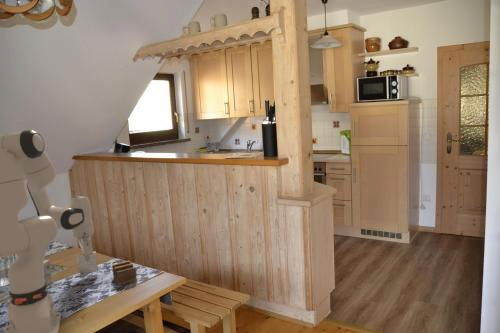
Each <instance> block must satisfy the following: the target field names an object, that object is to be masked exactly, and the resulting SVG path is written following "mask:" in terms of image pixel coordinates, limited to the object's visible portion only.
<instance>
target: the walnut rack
mask: <svg viewBox="0 0 500 333" xmlns="http://www.w3.org/2000/svg"><path fill="white" fill-rule="evenodd" d="M111 267H112V276H113V280H114V281H115V282H116V284H117V286H121V284H122V285H125V284H129V283H132V282H136V281H137V280H138V278H137V270H136V269H137V268H136V267H135V266H134V263H131V260H127V261H122V262H118V263H114V264H111Z"/></svg>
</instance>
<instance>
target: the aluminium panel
mask: <svg viewBox="0 0 500 333" xmlns="http://www.w3.org/2000/svg"><path fill="white" fill-rule="evenodd" d="M97 257H98V256H97V251H95V250H93V255H90V261H86V260H85V256H84V254H83V253H80V254H77V255H76V258H77V264H78V265H77V266H78V272H79V276H83V275H87V274H91V273H96V272H99V263H98V258H97Z"/></svg>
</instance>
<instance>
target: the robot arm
mask: <svg viewBox="0 0 500 333" xmlns="http://www.w3.org/2000/svg"><path fill="white" fill-rule="evenodd" d="M56 172H57V171H56V169H55V166H54V164H53V162H52V161H51V158H50V157H49V155H48V153H47V152H46V150H45V142H44V138H43V137H42V136H41V134H40V133H38V132H37V131H36V130H30V129H29V130H22V131H17V132H16V131H15V132H11V133H4V134H0V259H3V258H8V257H10V256H13V255H17V254H19V255H18V257H17V259H16V260H15V261H13V263H12V264H11V265H10V266H9V268H8V269H7V270H8V271H7V276H8V277H7V278H8V283H9V284H8V285H9V291H8V292H9V301H10V303H9V305H8V306H7V307H6V311H7V319H8V321H7V324H8V325H6V326H5V327H3V329H2V331H3V333H59V331H60V325H61V319H62V312H60V311H57V309H56V308H55V306H56V304H55V301H54V298H53V295H51V294H49V293H48V291H49V290H48V285H46V282H45V281H44V271H43V261H44V260H45V256H46V254H47V253H46V252H47V250H48V248H49V246H50V244H51V243H52V242H53V240H54V239H55V238H56V236H57V234H58V231H59V230H60V231H62V230H63V231H70V230H72V236H73V237H75V238H76V240H77V242H78V244H79V248H80V249H81V251H82V254H84V256H85V260H86V261H90V255H93V252H94V249H93V244H92V240H91V238H92V236H93V235H94V234H95V226H94V221H93V219H92V213H93V212H92V206H91V201H90V199H89V197H87V196H85V195H74V196H70V197H69V201H67V203H65V205H64V206H62V207H60V206H55V205H53V204H52V203H51V200H50V198H49V196H48V193H47V190H46V188H47V187H49V185H51V184H52V183H53V182H54V180H55V178H56V176H57V175H56V174H57V173H56ZM25 179H26V180H25ZM29 196H30V197H29ZM29 199H31V201H32V203H33V205H34V209H36V210H35V211H36V213H37V215H35V216H29V217H27V218H22V219H19V213H20V211H21V210H22V209H23V208H24V207H25V206H26V205H28V202H29Z"/></svg>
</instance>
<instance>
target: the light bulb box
mask: <svg viewBox="0 0 500 333" xmlns="http://www.w3.org/2000/svg"><path fill="white" fill-rule="evenodd" d="M50 265H51V264H50V260H49V259H44V261H43V271H44V281H45V282H46V285H47V286H48V285H50V284H52V283H53V278H52V272H51V271H52V270H51V266H50Z"/></svg>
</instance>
